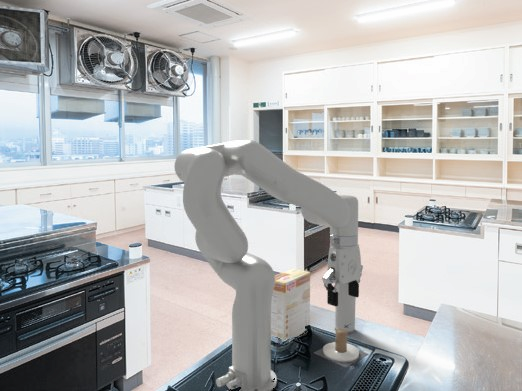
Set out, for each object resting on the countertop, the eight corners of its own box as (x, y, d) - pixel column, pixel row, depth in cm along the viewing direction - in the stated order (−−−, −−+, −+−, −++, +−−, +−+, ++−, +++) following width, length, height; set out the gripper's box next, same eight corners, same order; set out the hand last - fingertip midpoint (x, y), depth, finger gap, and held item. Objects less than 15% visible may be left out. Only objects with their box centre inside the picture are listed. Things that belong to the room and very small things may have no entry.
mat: (345, 369, 106) (345, 367, 106) (313, 354, 114) (313, 352, 114) (368, 355, 113) (368, 354, 113) (336, 342, 121) (336, 340, 121)
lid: (345, 366, 107) (345, 342, 106) (315, 352, 114) (316, 330, 113) (366, 354, 113) (366, 331, 113) (337, 342, 121) (337, 321, 120)
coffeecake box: (292, 325, 134) (292, 267, 132) (310, 330, 130) (311, 271, 128) (264, 340, 122) (265, 278, 120) (284, 347, 118) (284, 282, 116)
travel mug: (350, 337, 125) (352, 274, 123) (331, 331, 129) (332, 270, 127) (358, 330, 130) (360, 270, 128) (340, 325, 134) (341, 266, 132)
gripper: (335, 247, 102) (335, 312, 104) (373, 237, 114) (372, 296, 116) (313, 243, 108) (313, 305, 109) (350, 234, 119) (350, 290, 121)
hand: (343, 300), depth 112 cm, fingers open, 9 cm apart
